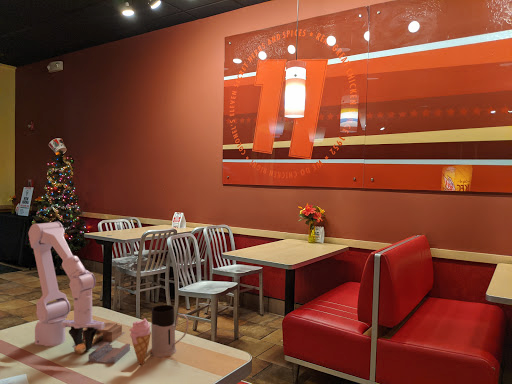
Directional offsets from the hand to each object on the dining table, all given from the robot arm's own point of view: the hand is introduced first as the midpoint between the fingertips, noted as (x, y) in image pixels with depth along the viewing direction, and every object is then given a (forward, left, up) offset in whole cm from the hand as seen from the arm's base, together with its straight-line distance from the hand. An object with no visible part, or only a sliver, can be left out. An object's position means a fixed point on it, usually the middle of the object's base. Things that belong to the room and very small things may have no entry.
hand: (83, 348), depth 133 cm
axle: (0, +4, -1) cm, 4 cm away
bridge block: (0, +10, -2) cm, 10 cm away
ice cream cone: (+23, -5, -2) cm, 24 cm away
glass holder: (+29, +5, -2) cm, 29 cm away
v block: (+11, -2, -2) cm, 11 cm away
